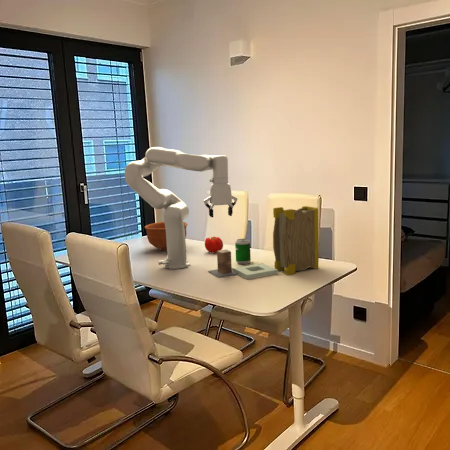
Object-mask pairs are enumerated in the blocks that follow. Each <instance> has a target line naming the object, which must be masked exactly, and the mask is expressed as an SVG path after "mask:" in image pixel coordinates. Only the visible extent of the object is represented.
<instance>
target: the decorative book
mask: <svg viewBox="0 0 450 450" xmlns="http://www.w3.org/2000/svg"><path fill="white" fill-rule="evenodd" d="M272 210H273V212H272V213H273V214H272V215H273V218H274V225H273V230H272V231H273V232H272V247H273V253H274V259H275V260H274V268H275V269H277V270H278V271H283V270H284V275H286V276H290V275H295V274H296V272H298V271H306V270H307V269H308V268H312V269H313V270H318V269H319V208H318V207H315V206H308V205H307V206H306V205H305V206H304V205H303V206H301V208H298V209H292V208H288V209H284V207H282V206H281V207H280V206H278V207H273V209H272Z"/></svg>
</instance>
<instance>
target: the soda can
mask: <svg viewBox="0 0 450 450" xmlns="http://www.w3.org/2000/svg"><path fill="white" fill-rule="evenodd" d="M234 243H235V245H234V246H235V247H234V249H235V262H236V263H237V264H238V265H247V264H250V262H251V260H252V258H251V241H250V240H249V239H248V238H238V239H236V241H234Z"/></svg>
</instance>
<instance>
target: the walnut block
mask: <svg viewBox="0 0 450 450" xmlns="http://www.w3.org/2000/svg"><path fill="white" fill-rule="evenodd" d="M216 258H217V269H218V272H220V273H222V274H224V273H230V272H232V268H233V267H232V265H233V264H232V251H231V250H229V249H222V250H220V251H217V253H216Z"/></svg>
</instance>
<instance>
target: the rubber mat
mask: <svg viewBox="0 0 450 450" xmlns="http://www.w3.org/2000/svg"><path fill="white" fill-rule="evenodd" d="M233 268H234V267H232V272H230V273H224V274H222V273H220V272H218V268H216V269H211V270H208V271H207V272H208V273H209V274H211V275H213V276H215V277H216V278H217V279H221V278H227V277H231V276H233V277H234V276H237V275H238V273H236V272H235V271H233ZM238 276H239V275H238Z"/></svg>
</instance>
